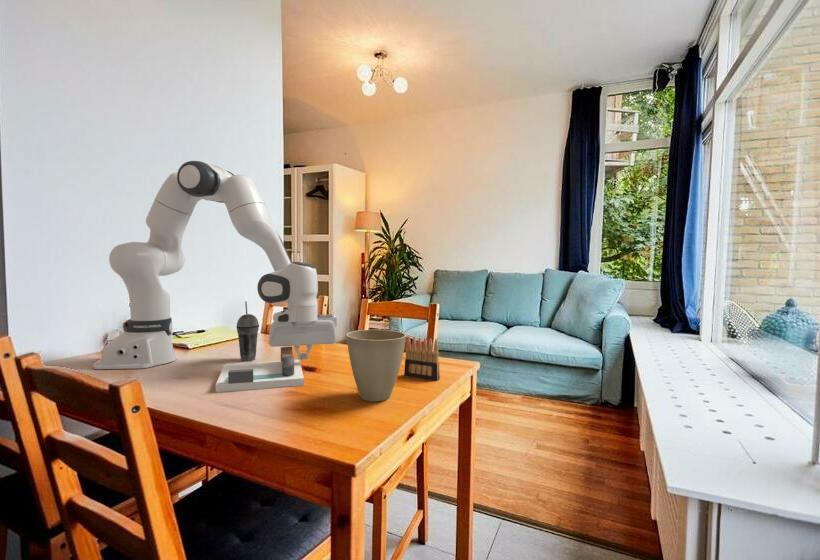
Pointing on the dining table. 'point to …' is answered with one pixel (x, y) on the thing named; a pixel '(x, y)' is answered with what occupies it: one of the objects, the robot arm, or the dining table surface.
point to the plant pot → (375, 361)
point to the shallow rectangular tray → (257, 376)
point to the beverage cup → (247, 336)
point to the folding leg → (287, 361)
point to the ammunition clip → (422, 360)
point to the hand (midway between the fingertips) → (302, 359)
